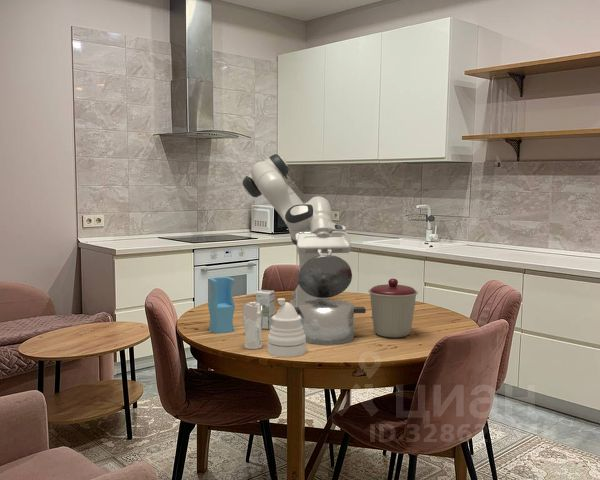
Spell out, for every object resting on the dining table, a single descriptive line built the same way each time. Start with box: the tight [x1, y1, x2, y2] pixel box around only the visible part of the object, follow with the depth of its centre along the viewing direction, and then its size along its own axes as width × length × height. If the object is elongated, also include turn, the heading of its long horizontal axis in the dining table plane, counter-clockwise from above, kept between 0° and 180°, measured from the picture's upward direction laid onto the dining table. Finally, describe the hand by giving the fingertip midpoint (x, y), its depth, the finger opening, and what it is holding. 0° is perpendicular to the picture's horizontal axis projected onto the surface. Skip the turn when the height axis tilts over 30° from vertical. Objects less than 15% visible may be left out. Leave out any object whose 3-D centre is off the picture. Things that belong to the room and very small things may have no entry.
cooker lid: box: [297, 254, 353, 299], centre depth 220 cm, size 20×20×3 cm
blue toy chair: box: [207, 276, 236, 334], centre depth 224 cm, size 8×8×20 cm
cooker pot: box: [294, 297, 366, 346], centre depth 216 cm, size 22×28×12 cm
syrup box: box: [255, 289, 275, 331], centre depth 229 cm, size 6×6×14 cm
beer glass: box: [242, 301, 263, 350], centre depth 202 cm, size 7×7×15 cm
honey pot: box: [267, 297, 307, 358], centre depth 197 cm, size 13×13×18 cm
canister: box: [368, 278, 419, 339], centre depth 219 cm, size 18×18×21 cm
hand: (325, 260), depth 215 cm, fingers closed, pressing on cooker lid
